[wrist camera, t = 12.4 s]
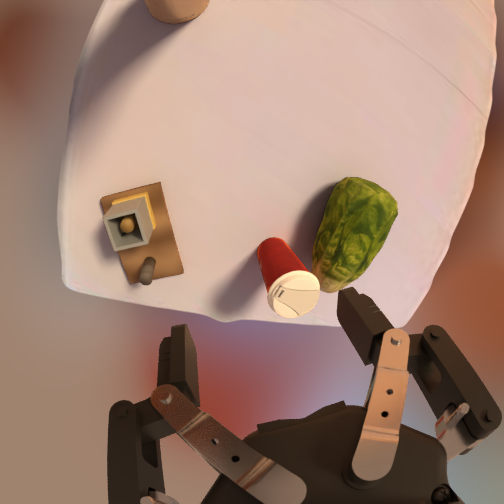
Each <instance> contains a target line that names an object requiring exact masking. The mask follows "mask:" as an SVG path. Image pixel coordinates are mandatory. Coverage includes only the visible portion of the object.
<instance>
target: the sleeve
mask: <svg viewBox="0 0 504 504" xmlns="http://www.w3.org/2000/svg"><path fill="white" fill-rule="evenodd" d="M133 213H135V214H136V218H137V221H138V225H136V226H134V228H133V230H132V231H131V232H129V233H125V232H123V231H122V230H121V228H120V224H121V222H122V220H123V218H124V217H123V216H125V215H129V214H133ZM103 220H104V223H105V226H106V229H107V232H108V235H109V238H110V241H111V244H112V246H113V249H114V252H115V251H119V250H123V249H128V248H132V247H137V246H141V245H146V244H148V243H149V240H150V237H151V234H152V231H153V229H155V227H156V222H155V219H154V215H153V211H152V208H151V204H150V200H149V196H148V192H144V193H140V194H136V195H132V196H128V197H125V198H121V199H117V200H114V201H113V202H112V206H111V208H110V209H109V210H108V211H107V213H106V214H105V215H104V216H103Z"/></svg>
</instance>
